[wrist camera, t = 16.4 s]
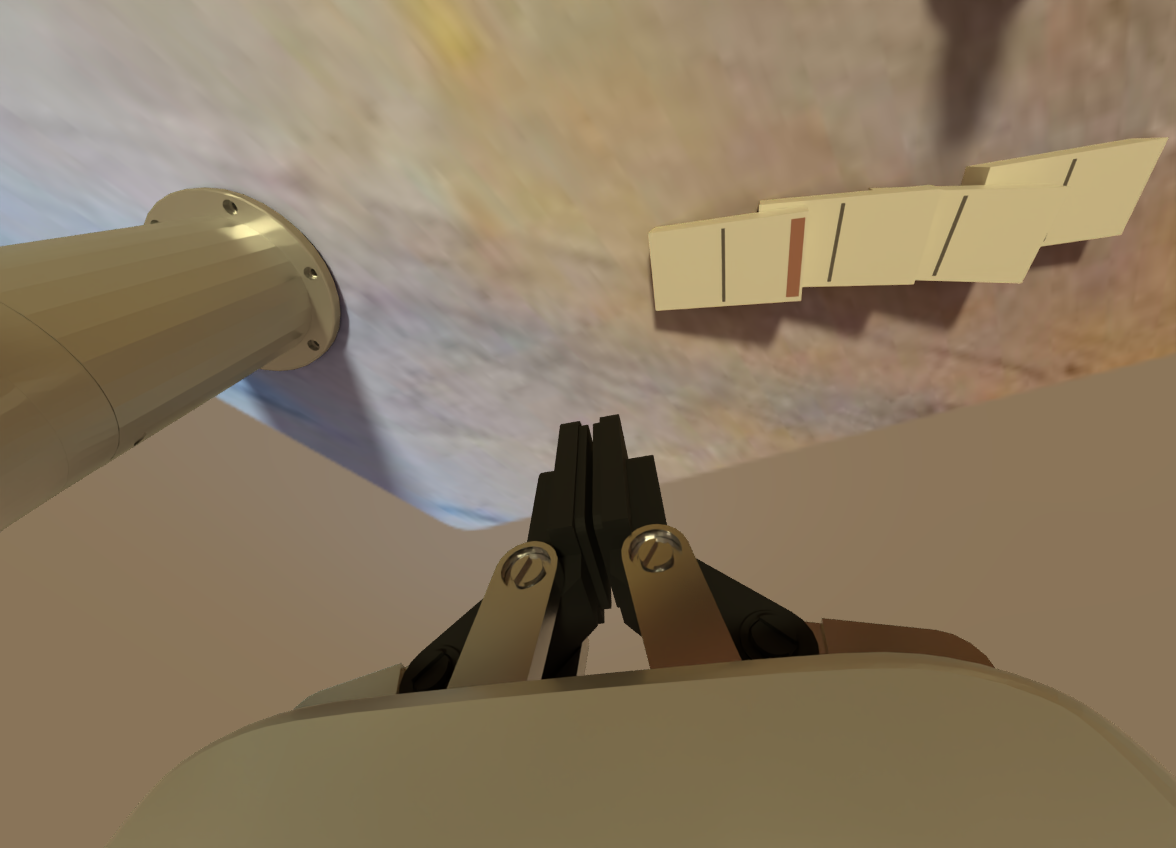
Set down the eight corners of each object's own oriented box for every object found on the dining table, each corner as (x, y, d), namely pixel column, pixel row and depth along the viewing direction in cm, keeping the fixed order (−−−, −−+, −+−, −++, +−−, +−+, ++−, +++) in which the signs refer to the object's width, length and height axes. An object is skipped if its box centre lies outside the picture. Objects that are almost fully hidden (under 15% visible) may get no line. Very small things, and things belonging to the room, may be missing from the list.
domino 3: (850, 278, 27) (1021, 283, 25) (876, 191, 25) (1072, 187, 22) (845, 270, 29) (1005, 274, 26) (868, 188, 26) (1050, 183, 24)
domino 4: (962, 258, 27) (1121, 234, 26) (990, 167, 24) (1168, 137, 23) (940, 252, 28) (1088, 229, 27) (964, 166, 26) (1129, 138, 25)
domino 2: (751, 288, 28) (914, 284, 25) (759, 204, 25) (942, 188, 22) (752, 279, 29) (905, 275, 26) (759, 200, 27) (930, 184, 24)
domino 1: (655, 310, 29) (801, 301, 25) (648, 233, 26) (808, 211, 23) (661, 301, 30) (799, 290, 27) (654, 227, 28) (806, 205, 24)
